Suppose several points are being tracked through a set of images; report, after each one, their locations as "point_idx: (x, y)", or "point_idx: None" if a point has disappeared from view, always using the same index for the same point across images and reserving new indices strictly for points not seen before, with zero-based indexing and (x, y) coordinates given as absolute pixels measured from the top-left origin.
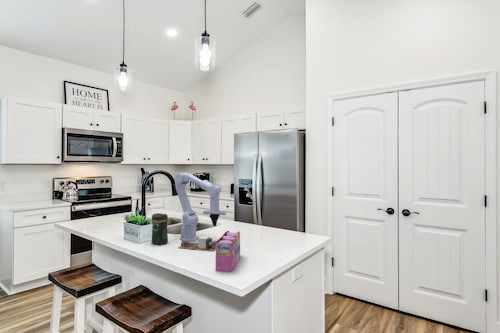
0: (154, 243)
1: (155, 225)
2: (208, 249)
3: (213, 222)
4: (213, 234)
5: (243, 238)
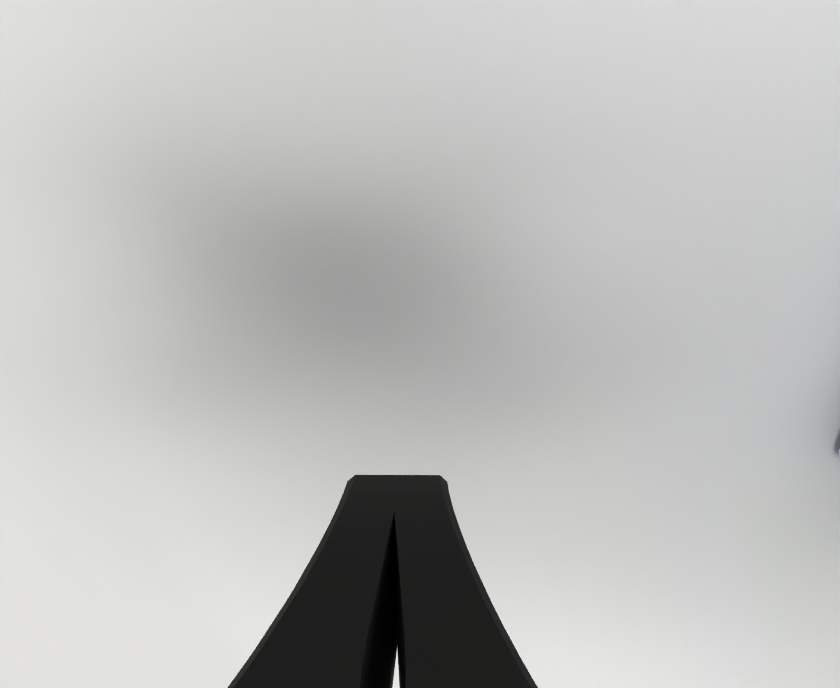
0: None
1: None
2: None
3: (404, 596)
4: (601, 670)
5: (19, 595)
